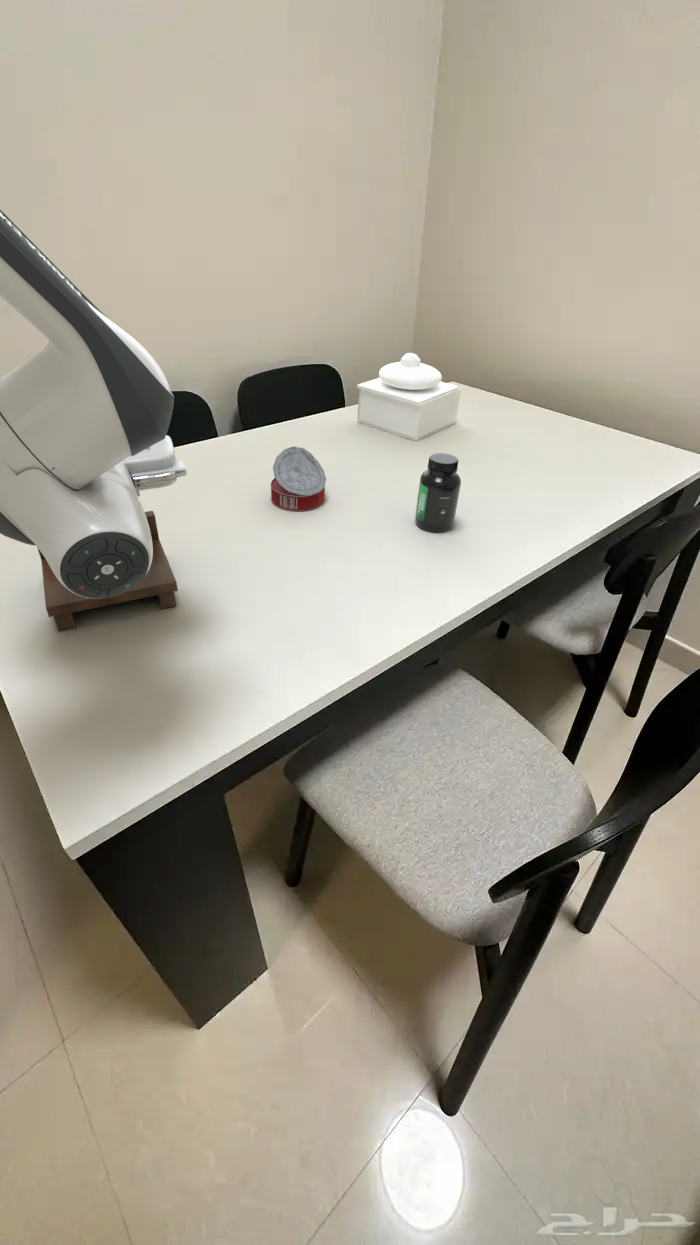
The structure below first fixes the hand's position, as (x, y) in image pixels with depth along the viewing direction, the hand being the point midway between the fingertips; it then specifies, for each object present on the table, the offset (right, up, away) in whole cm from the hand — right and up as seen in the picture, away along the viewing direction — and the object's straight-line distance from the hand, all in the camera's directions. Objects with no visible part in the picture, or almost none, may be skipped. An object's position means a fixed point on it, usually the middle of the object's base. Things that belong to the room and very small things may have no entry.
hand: (75, 442), depth 68 cm
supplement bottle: (+47, -4, +34) cm, 58 cm away
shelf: (-1, -17, +13) cm, 22 cm away
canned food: (+23, +1, +39) cm, 45 cm away
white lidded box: (+46, +28, +74) cm, 92 cm away
